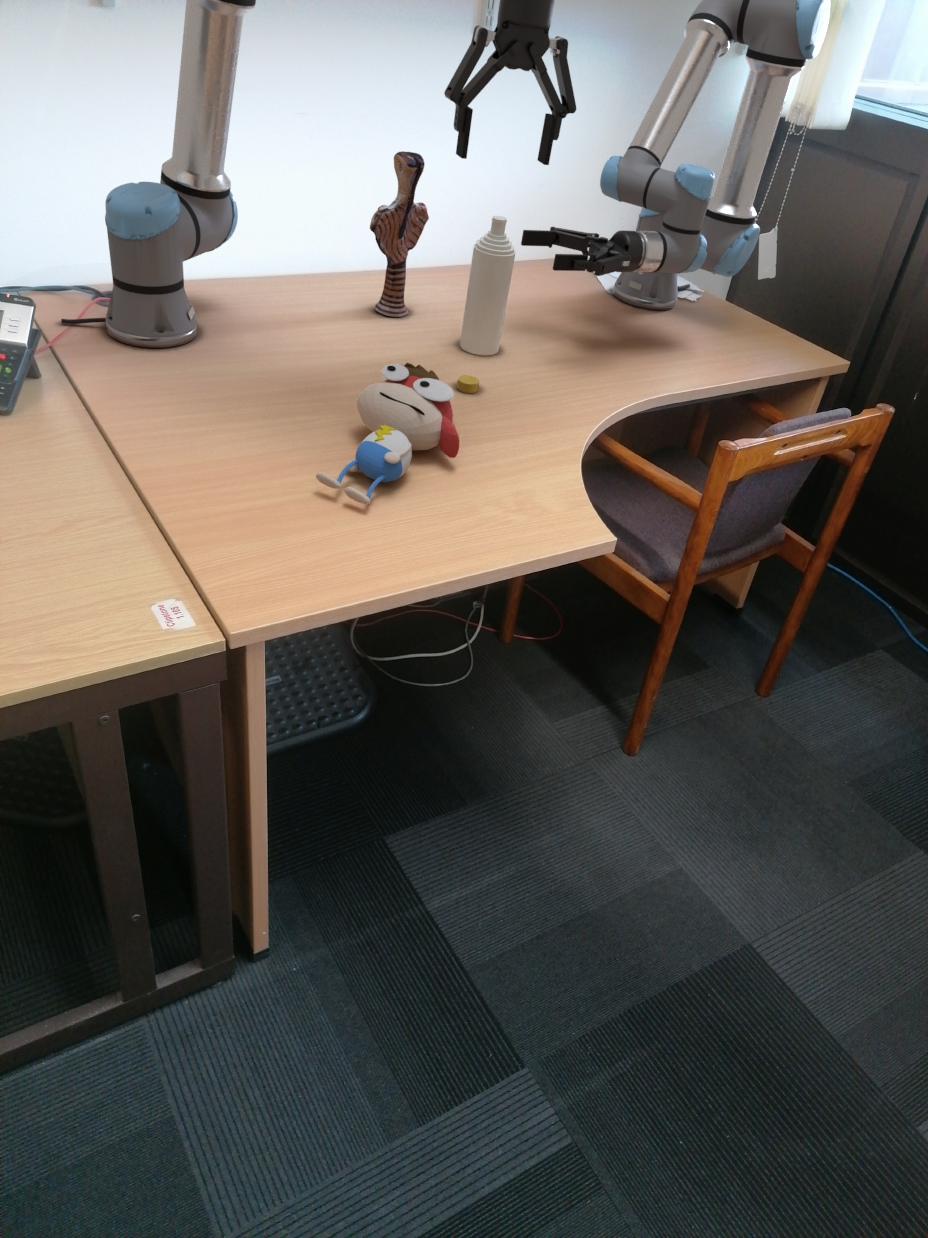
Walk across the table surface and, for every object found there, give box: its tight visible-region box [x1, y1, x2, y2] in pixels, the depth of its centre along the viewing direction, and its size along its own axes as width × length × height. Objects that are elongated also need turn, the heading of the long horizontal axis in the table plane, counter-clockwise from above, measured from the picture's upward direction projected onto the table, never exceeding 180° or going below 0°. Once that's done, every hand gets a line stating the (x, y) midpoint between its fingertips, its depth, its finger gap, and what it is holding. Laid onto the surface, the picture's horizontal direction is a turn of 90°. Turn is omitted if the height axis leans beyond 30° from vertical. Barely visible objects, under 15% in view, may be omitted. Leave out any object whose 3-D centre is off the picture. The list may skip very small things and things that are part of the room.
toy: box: [315, 362, 460, 505], centre depth 132 cm, size 18×10×30 cm
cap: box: [456, 374, 480, 394], centre depth 158 cm, size 4×4×2 cm
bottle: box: [459, 215, 516, 357], centre depth 166 cm, size 8×8×24 cm
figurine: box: [369, 150, 430, 318], centre depth 173 cm, size 15×8×30 cm, turn 144°
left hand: (502, 159), depth 135 cm, fingers open, 13 cm apart
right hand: (538, 249), depth 166 cm, fingers open, 13 cm apart
